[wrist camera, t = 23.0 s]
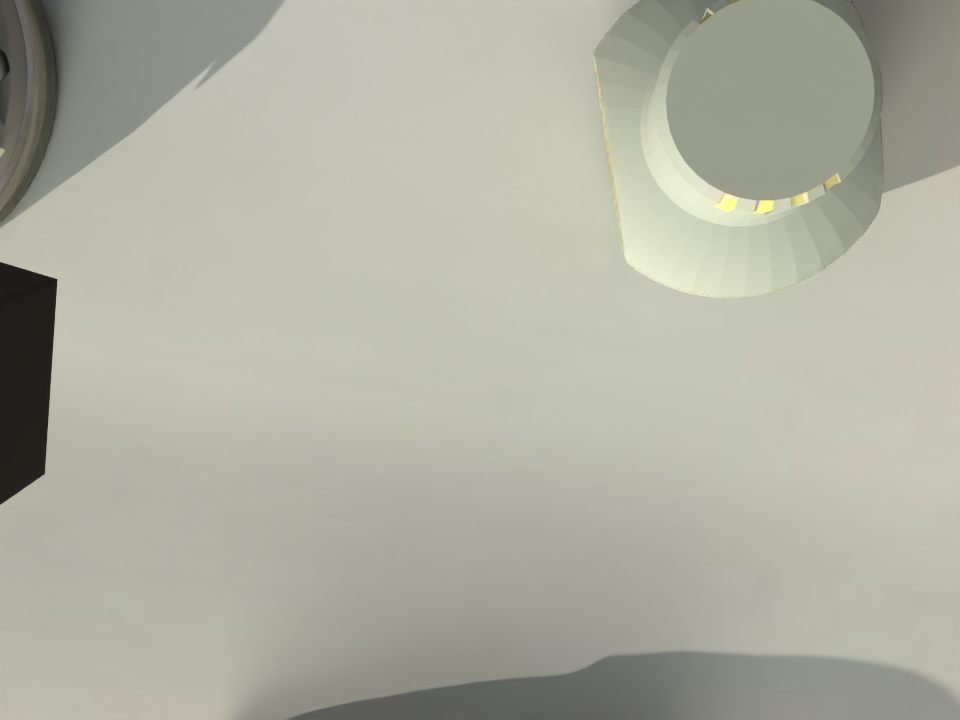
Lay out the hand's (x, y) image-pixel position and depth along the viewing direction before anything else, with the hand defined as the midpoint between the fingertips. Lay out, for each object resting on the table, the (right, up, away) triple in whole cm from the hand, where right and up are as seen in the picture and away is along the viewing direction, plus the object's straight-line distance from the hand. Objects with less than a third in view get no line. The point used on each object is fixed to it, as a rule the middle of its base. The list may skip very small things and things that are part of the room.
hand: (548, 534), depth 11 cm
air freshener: (+8, +10, +23) cm, 26 cm away
